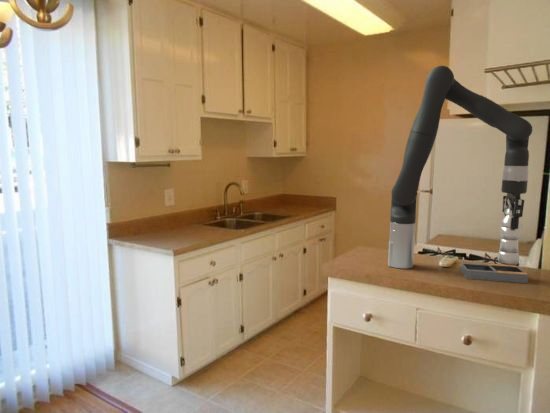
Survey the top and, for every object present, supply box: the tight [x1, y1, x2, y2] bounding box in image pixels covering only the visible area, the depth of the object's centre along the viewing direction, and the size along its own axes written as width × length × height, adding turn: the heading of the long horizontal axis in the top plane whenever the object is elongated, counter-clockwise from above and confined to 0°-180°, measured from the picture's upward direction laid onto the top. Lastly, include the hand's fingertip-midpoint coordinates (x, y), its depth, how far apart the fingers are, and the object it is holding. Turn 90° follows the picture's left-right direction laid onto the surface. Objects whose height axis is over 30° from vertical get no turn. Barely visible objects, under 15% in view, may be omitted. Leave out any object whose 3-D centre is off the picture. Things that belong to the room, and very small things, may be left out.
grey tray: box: [459, 262, 529, 284], centre depth 141 cm, size 19×10×3 cm, turn 76°
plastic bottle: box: [496, 208, 523, 266], centre depth 138 cm, size 6×7×20 cm
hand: (510, 226), depth 138 cm, fingers closed on plastic bottle, 6 cm apart
